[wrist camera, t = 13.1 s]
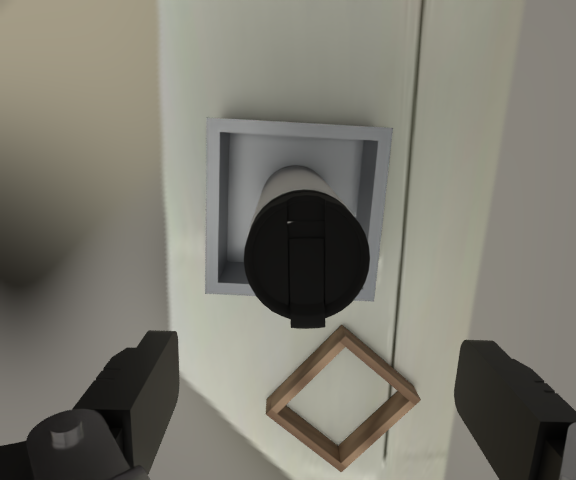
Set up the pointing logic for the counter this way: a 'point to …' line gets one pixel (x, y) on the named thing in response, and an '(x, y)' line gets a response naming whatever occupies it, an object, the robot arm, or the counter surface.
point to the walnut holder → (365, 432)
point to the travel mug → (304, 249)
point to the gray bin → (270, 158)
